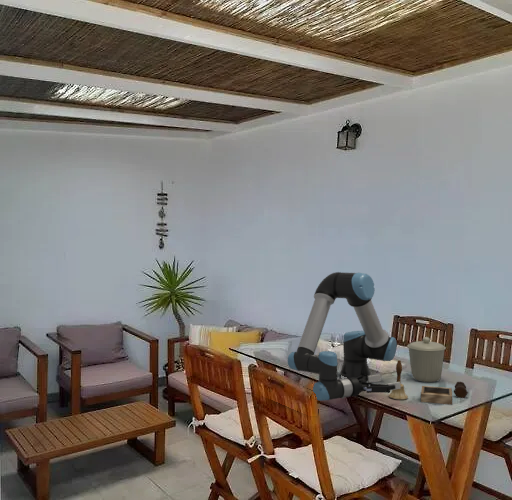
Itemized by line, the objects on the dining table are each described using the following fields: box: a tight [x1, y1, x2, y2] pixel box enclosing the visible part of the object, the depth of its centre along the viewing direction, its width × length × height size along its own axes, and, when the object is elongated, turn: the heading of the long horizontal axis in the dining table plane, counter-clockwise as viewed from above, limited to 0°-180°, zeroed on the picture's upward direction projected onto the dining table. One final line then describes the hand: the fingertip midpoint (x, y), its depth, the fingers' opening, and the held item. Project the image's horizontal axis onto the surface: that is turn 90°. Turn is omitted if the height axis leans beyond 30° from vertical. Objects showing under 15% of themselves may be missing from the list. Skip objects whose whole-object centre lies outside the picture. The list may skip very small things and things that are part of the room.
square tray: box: [420, 385, 453, 405], centre depth 228 cm, size 12×12×4 cm
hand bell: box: [388, 360, 409, 400], centre depth 230 cm, size 8×8×16 cm
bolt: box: [453, 381, 469, 399], centre depth 236 cm, size 6×5×15 cm
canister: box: [406, 336, 447, 383], centre depth 258 cm, size 18×18×21 cm
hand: (389, 381), depth 228 cm, fingers open, 13 cm apart
